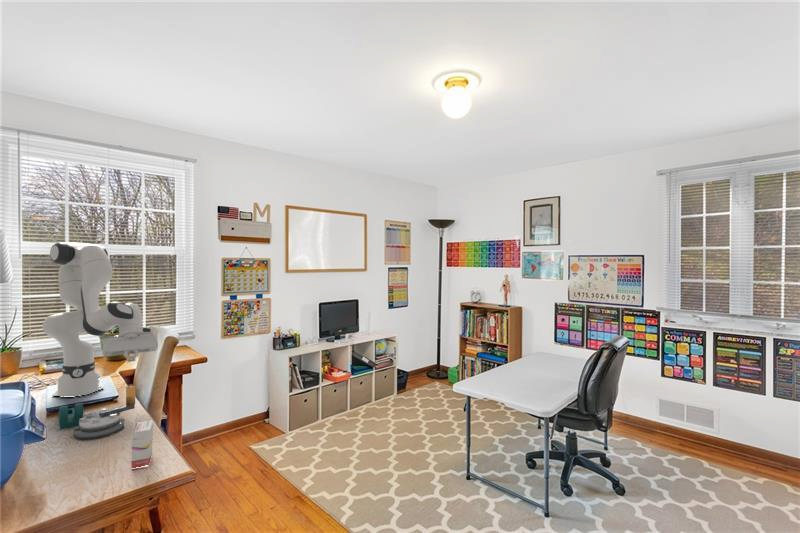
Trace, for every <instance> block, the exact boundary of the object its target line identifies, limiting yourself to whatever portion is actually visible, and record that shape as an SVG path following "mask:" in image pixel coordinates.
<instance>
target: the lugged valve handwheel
mask: <svg viewBox="0 0 800 533" xmlns="http://www.w3.org/2000/svg"><path fill="white" fill-rule="evenodd" d="M125 391H126V392H125V405H121V406H119V407H114V408H109V409H108V408H107V407H106V408H100V410H99V411H97V412H88V411H87V412H85V413H83V417H82V418H81V419H79V430H80V431H83V432H94V431H100V430H104V429H108V428H111V427H113V426H115V425H117V424H118V423H119V422H120V418H121V413H123V412H126V411H130V410H134V409H135V408H136V407H135V405H136V385H128V386H126V387H125Z"/></svg>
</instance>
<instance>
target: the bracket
mask: <svg viewBox="0 0 800 533" xmlns="http://www.w3.org/2000/svg"><path fill="white" fill-rule="evenodd" d="M83 414H84V403H83V402H79V403H74V407H70V408H69V406H68V405H62V406H59V411H58V425H59V430H60V431H62V430H68V429H71V428H76V427H78V426H79V419H81V418H82V417H83Z"/></svg>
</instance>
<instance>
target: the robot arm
mask: <svg viewBox="0 0 800 533" xmlns="http://www.w3.org/2000/svg"><path fill="white" fill-rule="evenodd" d="M49 258H50V260H51V261H52V262H53V263H55V264H56V265H57V264H58V265H60V267H59V269H58V276H57V277H58V278H57V279H58V289H59V290H58V291H59V296H60V300H61V302H62V303H63V304H64V305H67V306H70V307H72V308H74V309H75V310H76V311H67V312H59V313H53V314H50V315H48V316H47V317H45V319H44V320H43V322H42V330H43V332H44V334H46V335H47V336H48V337H50V338H52V339H53V340H56V342H58V343H59V345H60V346H61V349H62V357H63V365H62V366H61V367H62V368H61V372H62V374H61V376H59V378H57V390H56V391H54V393H53V394H52V396H63V397H64V396H79V395H85V394H89V393H92V392H95V391H97V390H100V389H103V388H104V389H105V387H104V386H103V384H102V383H100V379H99V378H100V375H99V373H98V371H96V370H95V369H96V362H95V361H94V360H95V347H94V345H93V344H92V343H90V342H89V341H88V342H87V341H85V340H81V339H80V335H86V334H89V335H91V336H95V337H100V336H101V337H102V336H103V335H105V334H107V332H108V331H110V330H112V329H113V328H114V327H116V326H117V327H118V335H114V336H113V335H112V336H110V335H109V336H106V337H104V338H102V340H101V345H102V350H101V351H102V355H103V356H104V357H112V356H121V355H124V357H125V359H126V360H127V363H129V362H130V363H131V362H136V358H137V357H138V356H139V353H140V354H141V353H149V352H150V353H151V352H157V350H159V342H158V338H157V335H156V334H155V330H154V328H150V327H145V326H142V322H143V314H142V310H141V308H140V306H139V305H138V304H136V303H133V302H127V303H123V302H120V301H110V302H109V303H107V304H105V305H104V306H102V307H100V304H99V303H100V302H99V297H100V294H101V292H102V291H103V289H104V288H105V287H106V286H107V285H108V283H110V282H111V280H112V278H113V276H114V275H113V274H114V270H113V266H112V263H111V261H110V259H109V252H108V250H107V249H106V247H105V246H101V245H99V244H91V243H84V242H67V241H66V242H64V241H63V242H60V241H59V242H56V243H54V244H53V245H51V248H50V251H49ZM133 354H134V355H133ZM129 355H130V356H129ZM131 355H132V356H131ZM97 392H98V391H97ZM95 393H96V392H95ZM92 394H93V393H92ZM89 395H90V394H89ZM52 396H51V397H52ZM85 396H86V395H85Z"/></svg>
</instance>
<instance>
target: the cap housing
mask: <svg viewBox="0 0 800 533" xmlns="http://www.w3.org/2000/svg"><path fill="white" fill-rule="evenodd" d="M125 422H126V421H125V419H124V418H122V417H120V422H119V423H118V424H117V425H115V426H113V427H111V428H108V429H104V430H100V431H94V432H83V431H80V430H79V426H77V427H74V429H73V438H74V439H75V440H78V441H91V440H98V439H102V438H107V437H110V436H113V435H116V434H118V433H120V432H121V431H123V430H124V428H125V424H126V423H125Z"/></svg>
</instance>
